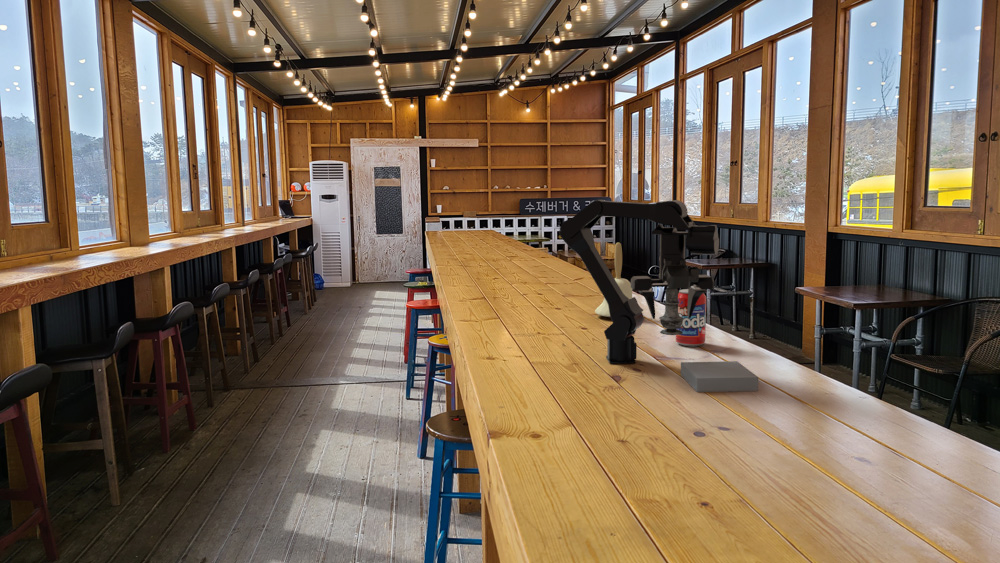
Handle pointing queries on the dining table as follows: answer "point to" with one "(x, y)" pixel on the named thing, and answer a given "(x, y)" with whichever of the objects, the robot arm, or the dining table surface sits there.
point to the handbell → (621, 282)
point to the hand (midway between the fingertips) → (671, 318)
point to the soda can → (692, 321)
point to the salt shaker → (671, 314)
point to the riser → (719, 376)
